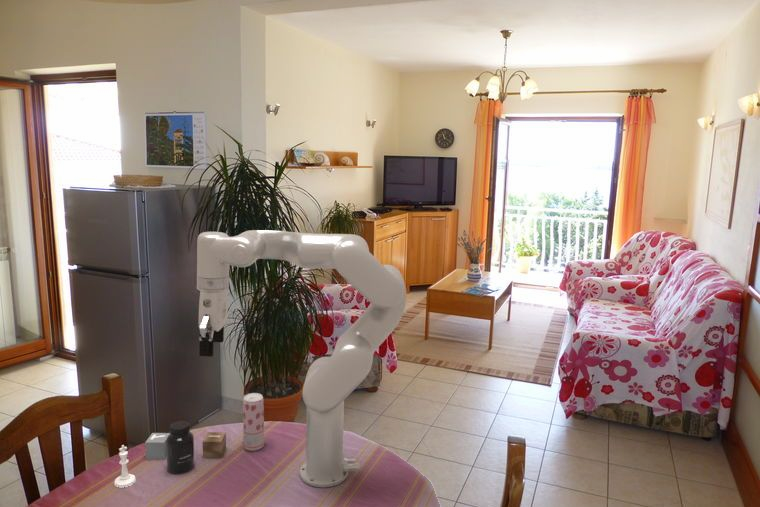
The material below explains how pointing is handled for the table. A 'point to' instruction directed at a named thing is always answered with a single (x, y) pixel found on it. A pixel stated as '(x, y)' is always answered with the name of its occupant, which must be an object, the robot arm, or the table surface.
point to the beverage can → (253, 421)
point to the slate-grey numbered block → (156, 446)
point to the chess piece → (124, 471)
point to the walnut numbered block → (214, 445)
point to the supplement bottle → (180, 448)
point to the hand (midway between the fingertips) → (211, 348)
